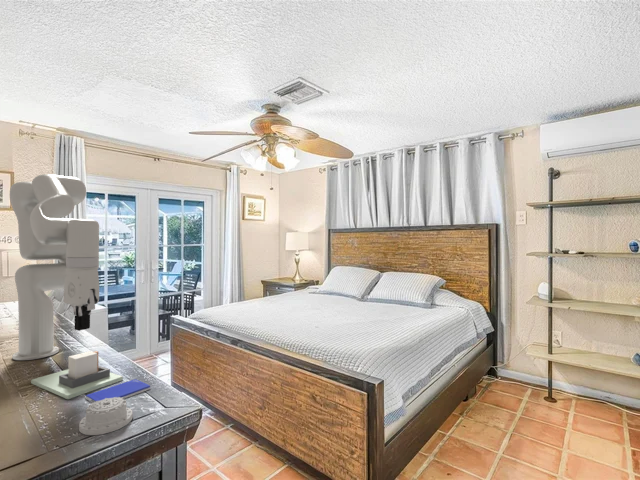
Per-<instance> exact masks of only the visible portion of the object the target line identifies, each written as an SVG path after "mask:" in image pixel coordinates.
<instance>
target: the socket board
mask: <svg viewBox="0 0 640 480" xmlns="http://www.w3.org/2000/svg"><path fill="white" fill-rule="evenodd" d="M123 380H124V377H123V375H120V374H117V373H115V372H114V373H113V372H111V369H110V368H107V367H104V366H102V365H98V372H96V373H93V374H90V375H86V376H83V377H80V378H77V379H72V378H70V377H68V368H67V369H64V370H60V371H57V372H53V373H50V374H46V375H43V376H40V377H36V378H33V379H30V382H31V383H30V384H32V385H34V386H36V387H38V388H40V389H43V390H44V391H48V392H50V393H52V394H54V395H57V396H59V397H60V398H63V399H66V400H70V399H73V398H76V397H79V396H81V395H84V394H86V393H90V392H92V391H95V390H99V389H102V388H105V387H107V386H109V385H113V384H115V383H118V382H121V381H123Z"/></svg>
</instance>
